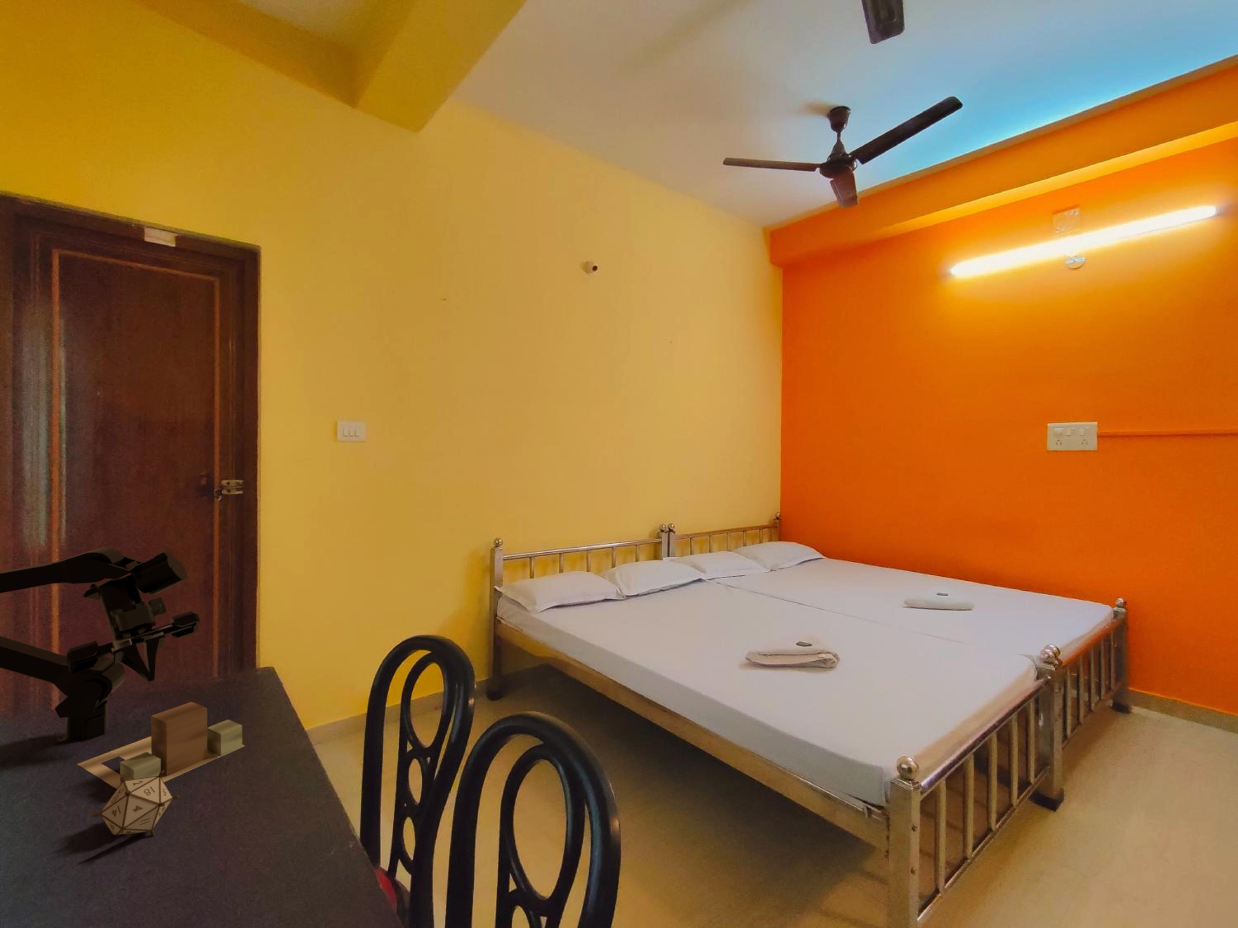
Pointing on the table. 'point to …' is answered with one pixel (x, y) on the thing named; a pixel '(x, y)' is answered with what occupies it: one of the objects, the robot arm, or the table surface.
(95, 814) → the game die
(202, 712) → the walnut block
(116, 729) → the table surface
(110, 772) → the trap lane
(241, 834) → the table surface
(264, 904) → the table surface
